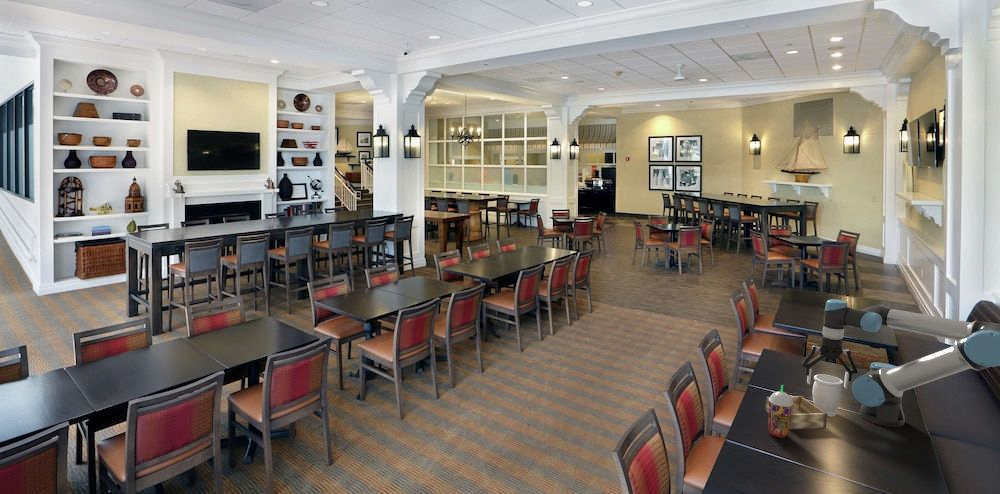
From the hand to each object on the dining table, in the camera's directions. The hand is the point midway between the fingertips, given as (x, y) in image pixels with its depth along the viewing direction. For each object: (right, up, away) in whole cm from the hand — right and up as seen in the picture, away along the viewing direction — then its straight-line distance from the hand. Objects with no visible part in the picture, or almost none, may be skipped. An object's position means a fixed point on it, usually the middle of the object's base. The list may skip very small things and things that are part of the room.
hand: (826, 385), depth 228 cm
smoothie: (-30, -15, -18) cm, 38 cm away
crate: (-16, -13, -5) cm, 21 cm away
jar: (0, -12, +2) cm, 12 cm away
